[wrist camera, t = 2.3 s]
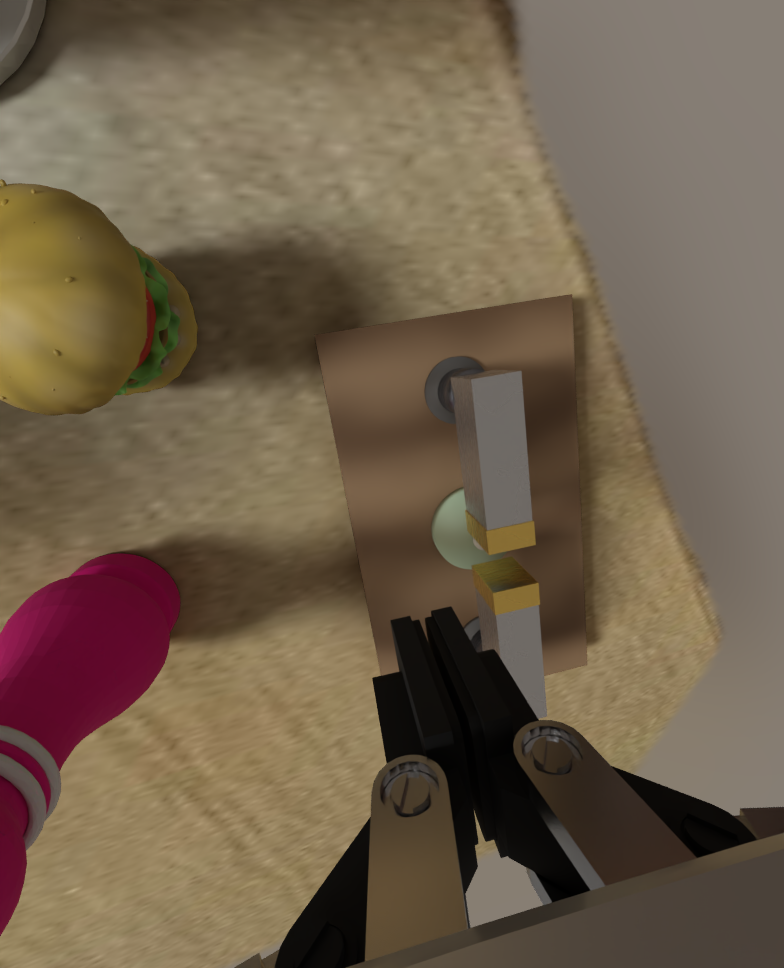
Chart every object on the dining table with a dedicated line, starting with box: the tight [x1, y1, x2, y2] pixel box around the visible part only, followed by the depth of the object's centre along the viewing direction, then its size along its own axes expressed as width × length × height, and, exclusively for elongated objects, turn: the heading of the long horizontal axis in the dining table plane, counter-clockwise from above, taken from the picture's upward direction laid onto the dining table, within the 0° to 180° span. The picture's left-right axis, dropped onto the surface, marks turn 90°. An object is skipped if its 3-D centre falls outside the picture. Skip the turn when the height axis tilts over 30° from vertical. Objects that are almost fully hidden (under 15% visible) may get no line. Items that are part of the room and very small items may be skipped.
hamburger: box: [0, 179, 198, 415], centre depth 18 cm, size 8×7×12 cm
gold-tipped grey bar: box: [438, 368, 536, 555], centre depth 22 cm, size 8×2×6 cm, turn 9°
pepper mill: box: [0, 553, 180, 936], centre depth 17 cm, size 7×7×20 cm
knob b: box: [471, 556, 547, 719], centre depth 25 cm, size 8×2×6 cm, turn 9°
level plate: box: [315, 294, 587, 676], centre depth 28 cm, size 24×14×3 cm, turn 9°
